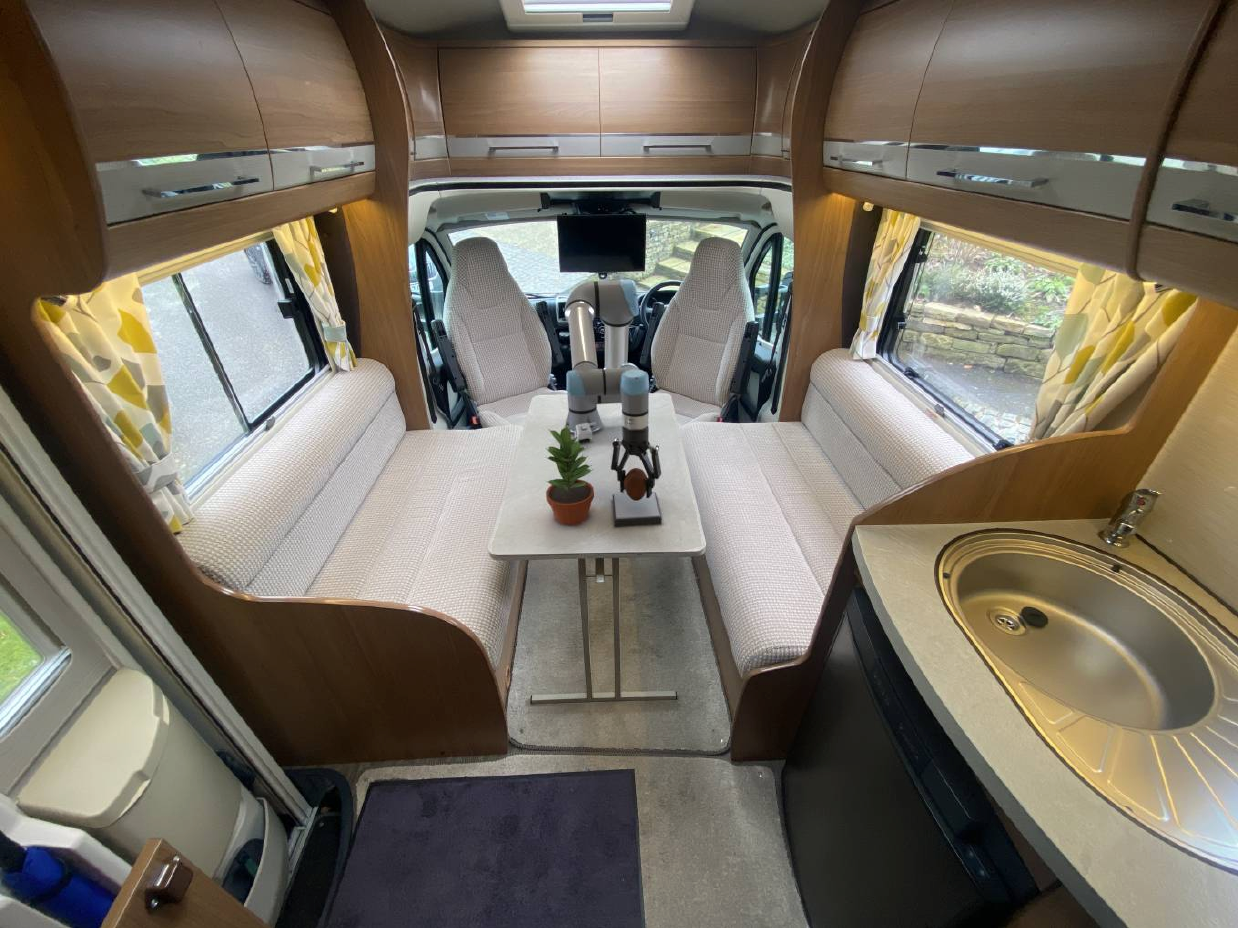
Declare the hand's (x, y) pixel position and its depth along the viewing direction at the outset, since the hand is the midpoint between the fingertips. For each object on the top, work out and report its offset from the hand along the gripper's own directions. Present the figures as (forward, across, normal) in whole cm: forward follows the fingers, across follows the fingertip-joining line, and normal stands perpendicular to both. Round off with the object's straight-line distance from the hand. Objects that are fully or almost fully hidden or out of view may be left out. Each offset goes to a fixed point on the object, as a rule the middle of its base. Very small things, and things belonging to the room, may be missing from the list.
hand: (636, 492), depth 152 cm
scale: (+7, 0, 0) cm, 7 cm away
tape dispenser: (+7, -37, +36) cm, 52 cm away
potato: (0, 0, 0) cm, 0 cm away
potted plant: (+7, -18, -9) cm, 21 cm away
